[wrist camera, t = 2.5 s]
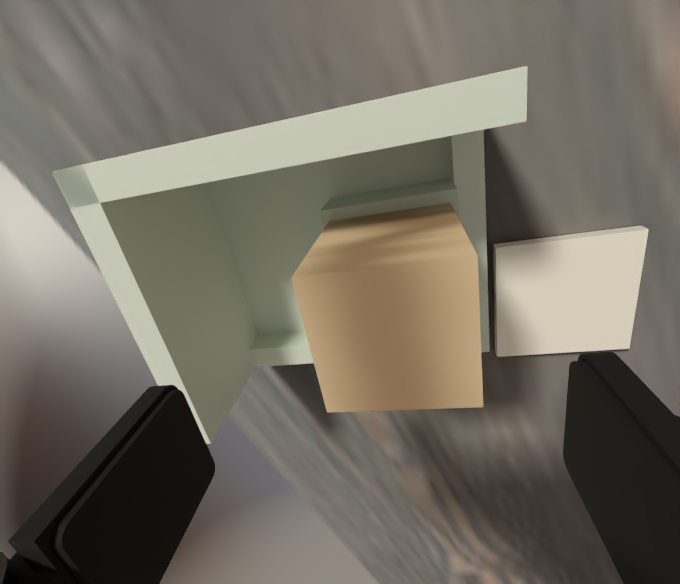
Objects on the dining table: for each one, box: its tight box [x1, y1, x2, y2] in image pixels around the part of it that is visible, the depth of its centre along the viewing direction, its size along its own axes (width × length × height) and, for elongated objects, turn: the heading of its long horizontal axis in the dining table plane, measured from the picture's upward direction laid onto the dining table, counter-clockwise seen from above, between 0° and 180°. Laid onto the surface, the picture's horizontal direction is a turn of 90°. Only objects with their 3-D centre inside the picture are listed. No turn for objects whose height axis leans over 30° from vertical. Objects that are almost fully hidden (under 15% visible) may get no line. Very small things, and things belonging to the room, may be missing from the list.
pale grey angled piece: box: [52, 66, 527, 444], centre depth 16 cm, size 14×12×8 cm
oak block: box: [291, 203, 483, 412], centre depth 13 cm, size 5×5×6 cm
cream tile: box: [493, 226, 649, 357], centre depth 19 cm, size 6×6×1 cm
